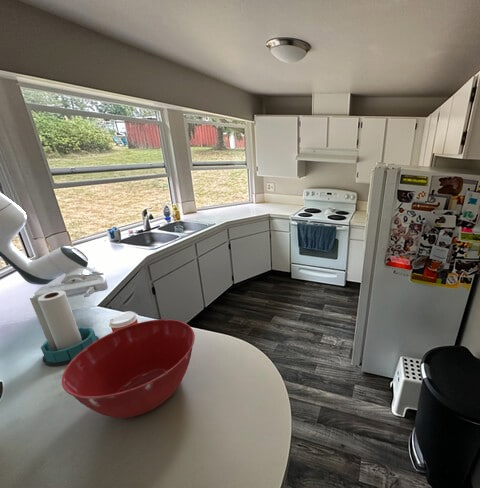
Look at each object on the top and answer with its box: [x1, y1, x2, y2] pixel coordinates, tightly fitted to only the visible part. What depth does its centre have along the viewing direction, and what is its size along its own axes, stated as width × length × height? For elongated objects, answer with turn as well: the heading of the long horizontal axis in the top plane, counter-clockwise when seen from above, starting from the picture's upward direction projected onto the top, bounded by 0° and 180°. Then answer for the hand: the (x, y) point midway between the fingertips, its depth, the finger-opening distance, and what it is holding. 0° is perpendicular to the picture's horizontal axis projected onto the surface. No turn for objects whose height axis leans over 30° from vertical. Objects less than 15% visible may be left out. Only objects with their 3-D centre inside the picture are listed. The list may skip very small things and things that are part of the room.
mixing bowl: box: [61, 318, 196, 419], centre depth 70 cm, size 28×28×15 cm
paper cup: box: [108, 310, 139, 332], centre depth 85 cm, size 8×8×14 cm
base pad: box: [40, 326, 100, 367], centre depth 86 cm, size 14×14×5 cm
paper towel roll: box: [29, 291, 82, 351], centre depth 82 cm, size 7×6×21 cm
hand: (68, 298), depth 91 cm, fingers open, 8 cm apart
